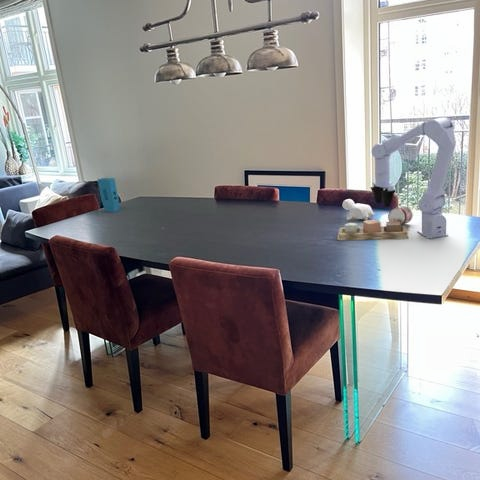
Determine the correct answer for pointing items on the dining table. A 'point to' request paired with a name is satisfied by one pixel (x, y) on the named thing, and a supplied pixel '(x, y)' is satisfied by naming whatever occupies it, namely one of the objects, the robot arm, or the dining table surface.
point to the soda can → (400, 215)
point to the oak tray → (372, 234)
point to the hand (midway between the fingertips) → (382, 204)
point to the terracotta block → (371, 226)
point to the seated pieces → (389, 226)
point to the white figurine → (358, 210)
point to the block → (108, 194)
